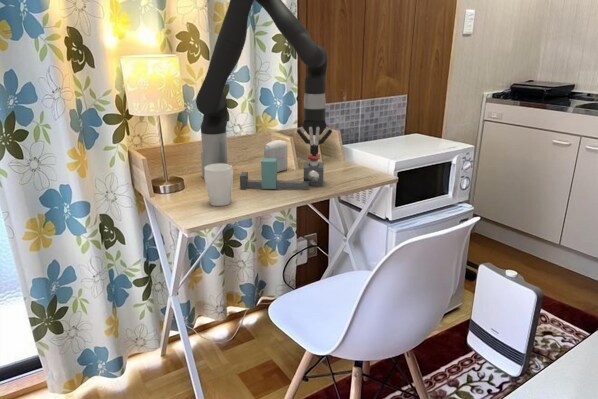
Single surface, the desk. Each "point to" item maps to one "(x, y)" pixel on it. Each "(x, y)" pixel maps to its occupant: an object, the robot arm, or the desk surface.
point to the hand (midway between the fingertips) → (314, 155)
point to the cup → (219, 183)
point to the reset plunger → (313, 159)
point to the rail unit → (311, 178)
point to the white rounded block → (277, 153)
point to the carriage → (269, 173)
